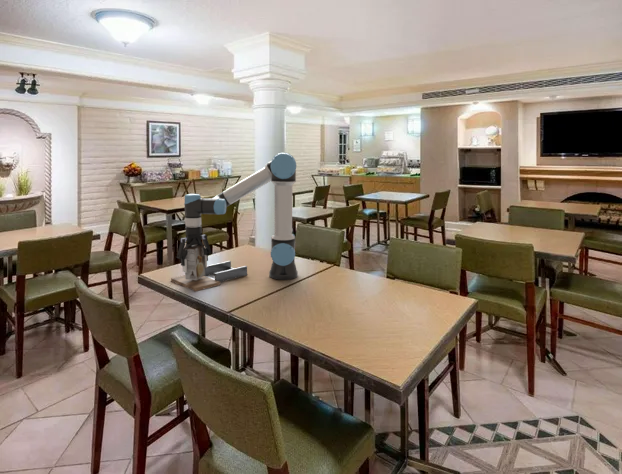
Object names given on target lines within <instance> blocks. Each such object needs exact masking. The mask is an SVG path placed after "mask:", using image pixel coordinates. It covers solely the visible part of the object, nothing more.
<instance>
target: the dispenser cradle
mask: <svg viewBox="0 0 622 474" xmlns="http://www.w3.org/2000/svg"><path fill="white" fill-rule="evenodd" d="M211 275H214V278H213V277H211ZM204 276H206V277H208V278H211V279H214V280H216V281H219V282H220V283H222V282H226V281H230V280H234V279H238V278H241V277H245V276H248V266H247V265H243V266H240V267H239V266H238V267H236V268H235V267H233V266H232V261H231V260H227V261H223V262H218V263H213V264H209V265H208V264H207V268H205V275H204Z"/></svg>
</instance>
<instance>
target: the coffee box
mask: <svg viewBox="0 0 622 474" xmlns="http://www.w3.org/2000/svg"><path fill="white" fill-rule="evenodd" d="M203 246H204V247H205V245H204V244H203V245H201V246H200V245H192V247H190V248H186V247H184V251H185V250H187V252H188V254H187V256H186V258H185V259H187V272H186V273H185V272H184V275H185V279H188V280H198V279H200V278H201V277H203V276H204V275H205V260H204V250H203Z"/></svg>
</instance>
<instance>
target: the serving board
mask: <svg viewBox="0 0 622 474" xmlns="http://www.w3.org/2000/svg"><path fill="white" fill-rule="evenodd" d="M208 277H209V276H208ZM208 277H206V276H203V277H201V278H200V279H198V280H188V279H185V274H184V275H183V274H182V275H179V276H175V277H171V278H170V282H173V283H175V284H177V285H179V286H183V287H184V288H187V289H189V290H192V291H194V292H198V291H202V290H205V289H210V288H214V287H217V286H221V282H219V281H216V280H214V279H215V278H214V279H211V278H212V277H211V278H208Z"/></svg>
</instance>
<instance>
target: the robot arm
mask: <svg viewBox="0 0 622 474" xmlns="http://www.w3.org/2000/svg"><path fill="white" fill-rule="evenodd" d="M296 169H297V162H296V159H295V158H294V156H293V155H291V154H290V153H289V152H288V153H287V152H279V153H277V154H275V155H274V156H273V157H272V159H271V160H270V161H268V162H266V163H265V166H264V167H263V168H260V169H259V170H258V171H256V172H255V173H252V174H251V175H249V176H248V177H246V178H243V179H242V180H241V181H239V182H237V183H235V184H234V185H232V186H230V187H229V188H227V189H225V190H223V191H222V192H220V193H218V194H217V195H215V196H213V197H212V198H202V197H201V194H199V193H188V194H185V195H184V202H183V205H184V220H185V221H184V223H185V237H181V238H180V239H179V246H178V250H177V254H176V258H177V259H179V260H180V266H182V272H183V273H184V274H185V273H186V272H187V259H185V258H186V256H187V254H188V252H187V250H185V251H184V248H185V247H186V248H190V247H192V245H200V246H201V245H204V246H203V250H204V260H205V268H207V266H208V261H209V255H210V254H211V253H212V250H211V246H210V243H209V240H208V235H207V234H202V233H203V231H202V224H203V223H202V215H225V214H226V212H227V207H229V206H230V205H232V204H234V203H236V202H237V201H239V200H241V199H243V198H244V197H246V196H248V195H249V194H252V193H253V192H255V191H256V190H258V189H259V188H261V187H263V186H265V185H267V184H268V183H270V182H272V184H273V185H274V234H273V235H271V249H270V250H271V251H270V258H271V260H272V263H271V266H270V270H269V273H268V274H269V277H270V278H272V279H275V280H278V281H279V280H280V281H281V280H283V281H284V280H286V281H288V280H294V279H296V278H298V270H297V266H296V262H295V259H296V250H295V249H296V236H295V234H294V233H293V185H294V184H295V183H296V182H297V179H296V178H297V175H296V174H297V173H296V172H297V170H296ZM201 240H202V241H201Z"/></svg>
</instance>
